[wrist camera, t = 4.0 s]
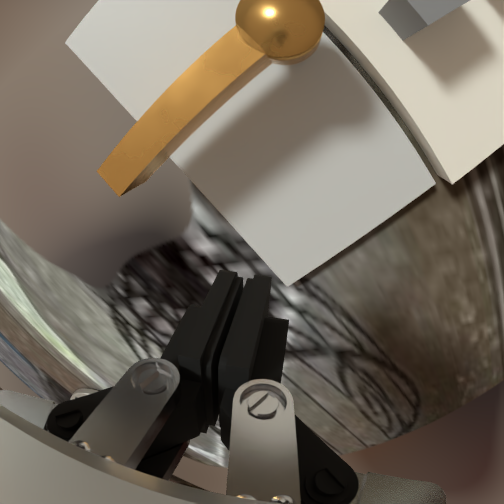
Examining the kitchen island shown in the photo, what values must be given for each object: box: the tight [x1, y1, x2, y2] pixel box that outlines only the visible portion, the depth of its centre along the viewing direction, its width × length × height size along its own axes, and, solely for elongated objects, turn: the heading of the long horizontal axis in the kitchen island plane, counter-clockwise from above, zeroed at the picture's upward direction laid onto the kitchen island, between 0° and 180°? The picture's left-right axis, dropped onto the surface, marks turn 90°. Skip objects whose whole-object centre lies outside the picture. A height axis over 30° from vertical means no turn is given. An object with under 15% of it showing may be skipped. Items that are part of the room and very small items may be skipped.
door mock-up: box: [66, 0, 504, 287], centre depth 12 cm, size 24×26×6 cm
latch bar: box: [97, 0, 325, 197], centre depth 13 cm, size 13×4×3 cm, turn 131°
